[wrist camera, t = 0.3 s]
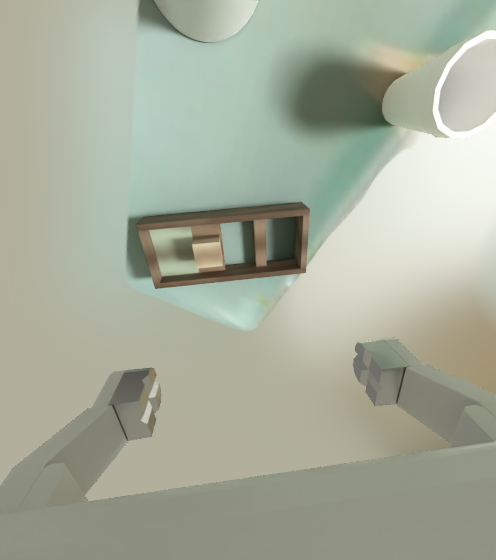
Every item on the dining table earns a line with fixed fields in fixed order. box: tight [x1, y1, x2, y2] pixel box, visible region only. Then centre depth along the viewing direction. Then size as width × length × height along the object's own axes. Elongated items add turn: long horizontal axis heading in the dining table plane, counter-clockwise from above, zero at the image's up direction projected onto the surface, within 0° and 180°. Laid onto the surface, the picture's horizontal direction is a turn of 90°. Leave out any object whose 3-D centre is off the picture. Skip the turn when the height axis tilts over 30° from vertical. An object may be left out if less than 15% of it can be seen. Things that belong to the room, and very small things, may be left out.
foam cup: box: [382, 31, 496, 138], centre depth 33 cm, size 10×9×13 cm
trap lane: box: [136, 202, 310, 289], centre depth 45 cm, size 12×28×4 cm, turn 93°
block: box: [192, 234, 223, 269], centre depth 44 cm, size 4×4×4 cm
